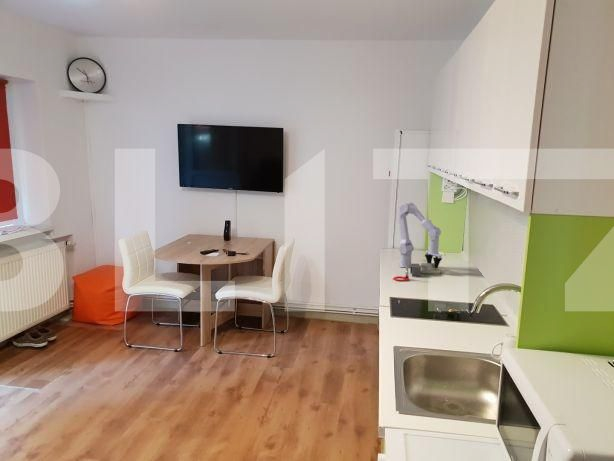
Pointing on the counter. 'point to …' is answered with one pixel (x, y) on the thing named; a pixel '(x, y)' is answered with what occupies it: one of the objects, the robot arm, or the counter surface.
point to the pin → (427, 266)
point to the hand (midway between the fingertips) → (432, 266)
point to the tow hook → (402, 276)
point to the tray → (432, 271)
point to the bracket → (415, 270)
